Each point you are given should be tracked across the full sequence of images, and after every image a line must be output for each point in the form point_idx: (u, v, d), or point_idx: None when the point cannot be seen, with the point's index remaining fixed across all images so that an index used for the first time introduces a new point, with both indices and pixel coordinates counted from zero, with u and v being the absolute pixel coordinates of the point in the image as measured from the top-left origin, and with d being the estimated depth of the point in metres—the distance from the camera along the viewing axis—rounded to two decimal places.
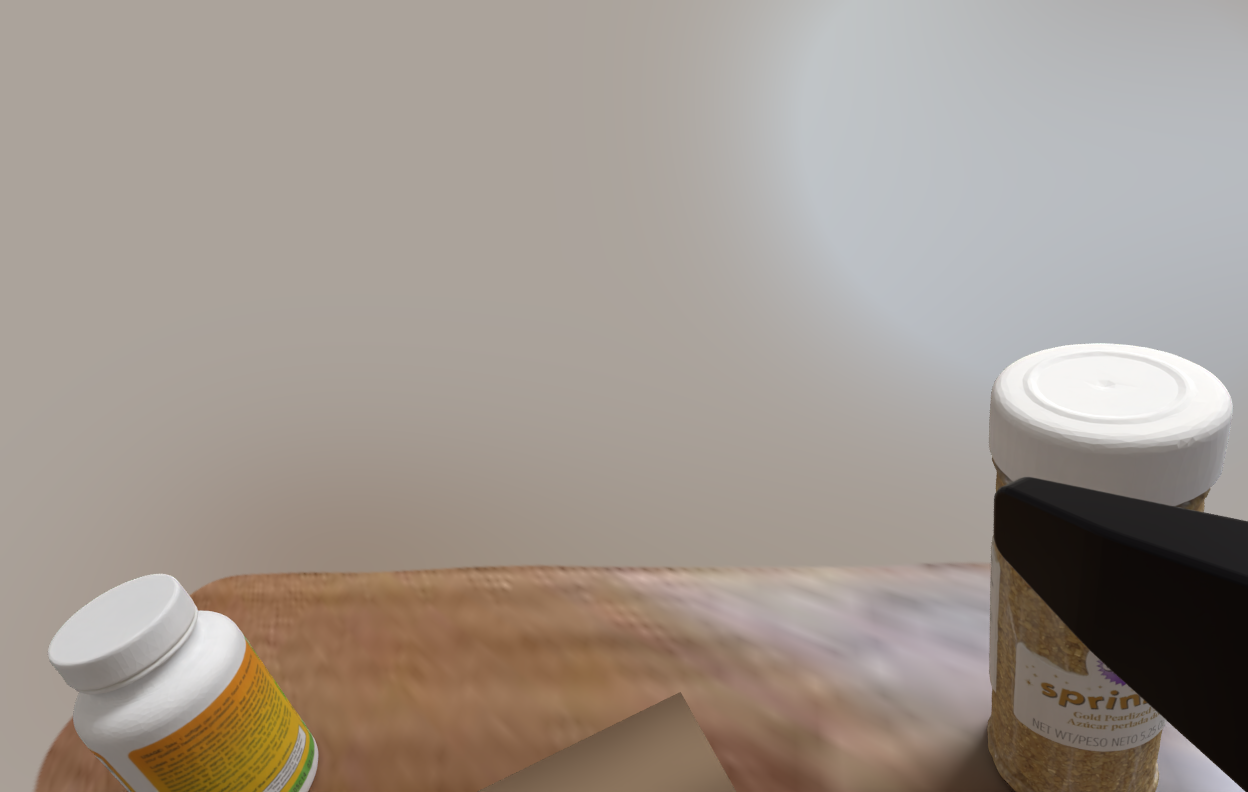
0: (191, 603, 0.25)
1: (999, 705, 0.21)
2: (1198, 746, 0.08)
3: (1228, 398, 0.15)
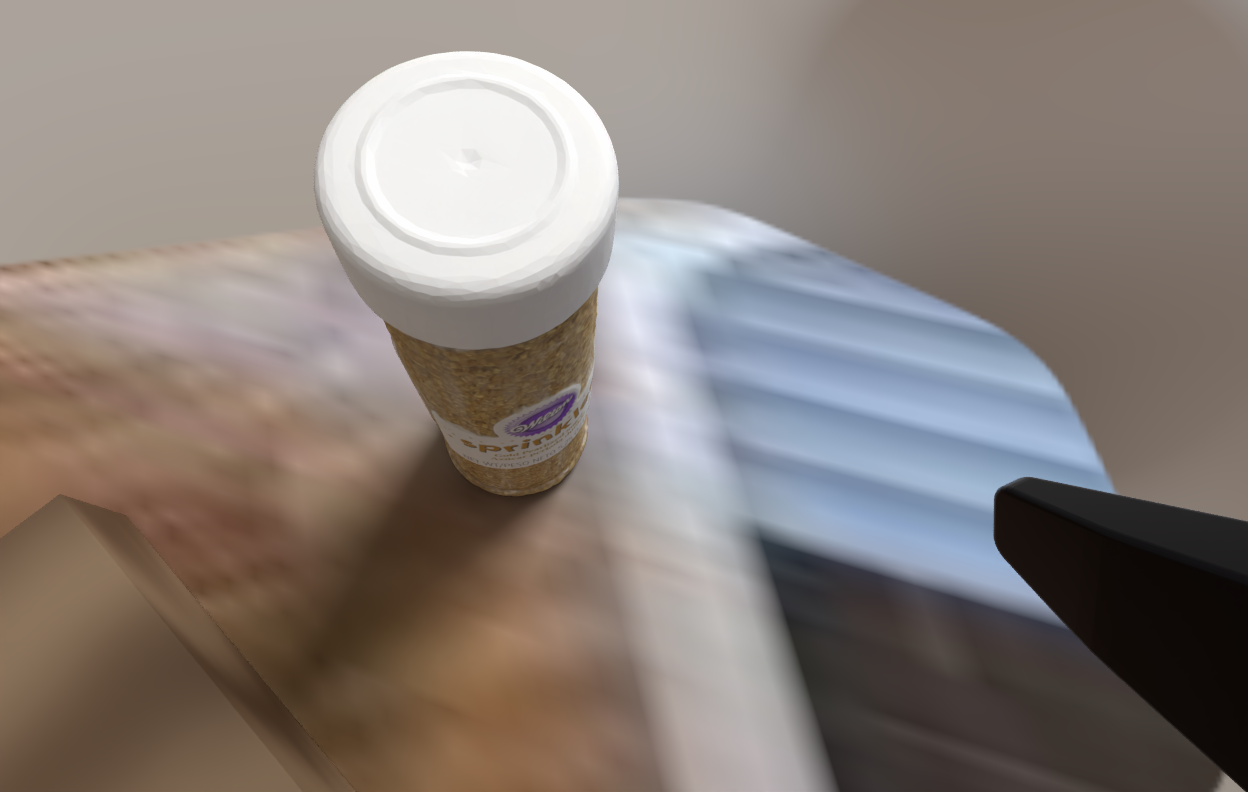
0: None
1: None
2: (1198, 746, 0.08)
3: (612, 188, 0.11)
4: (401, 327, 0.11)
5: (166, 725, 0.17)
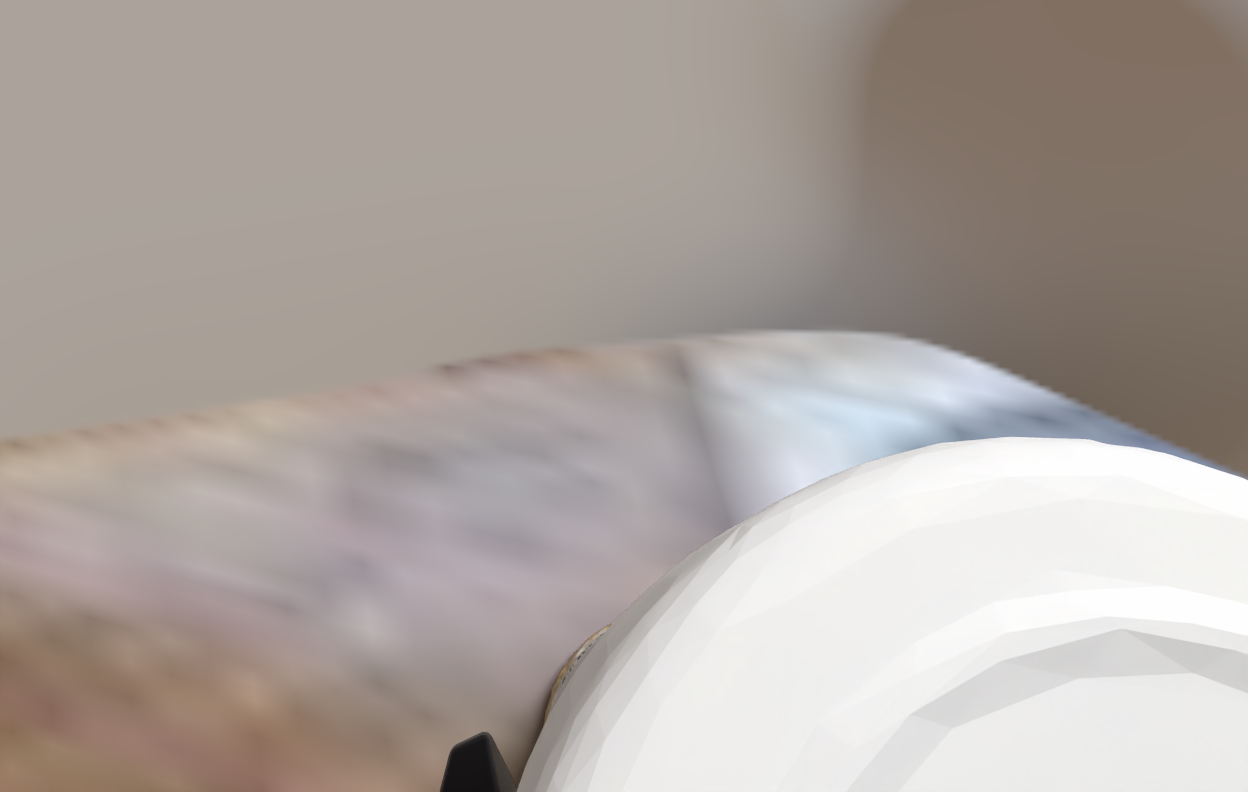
0: None
1: None
2: None
3: None
4: None
5: None
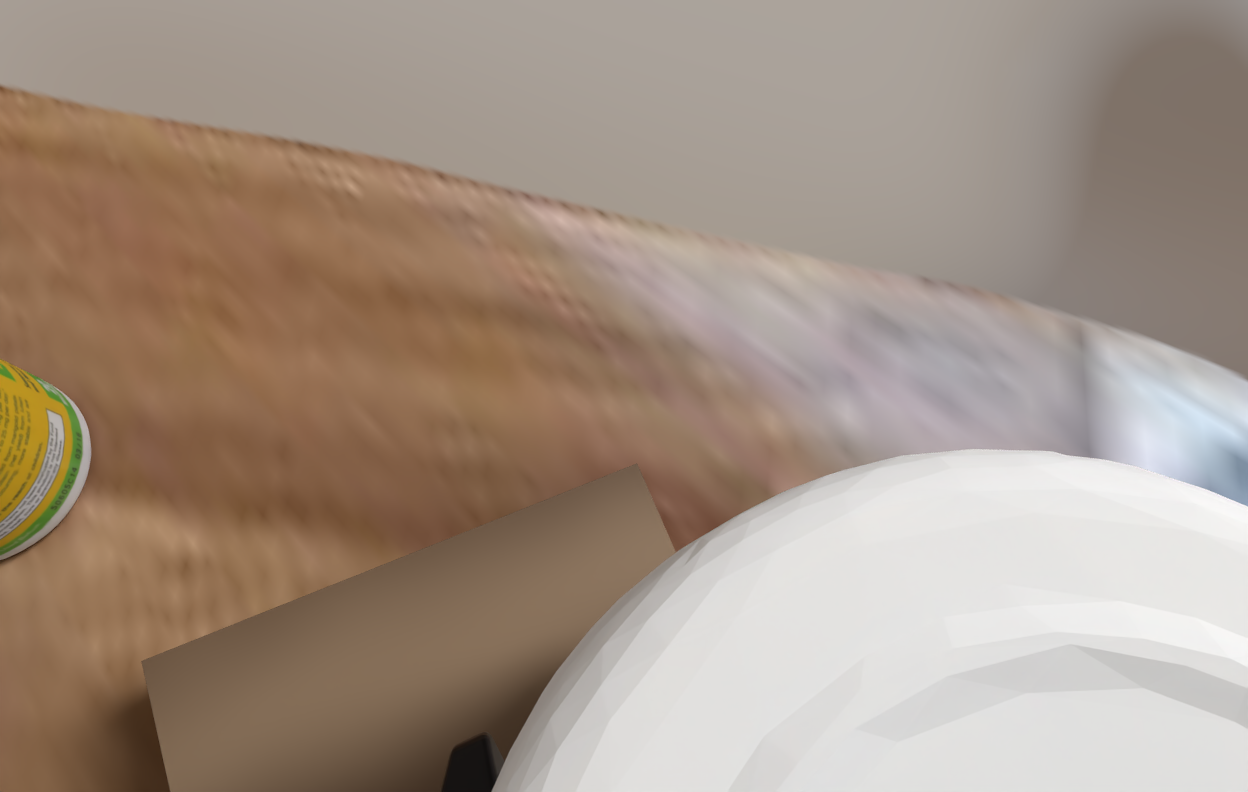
0: None
1: None
2: None
3: None
4: None
5: None
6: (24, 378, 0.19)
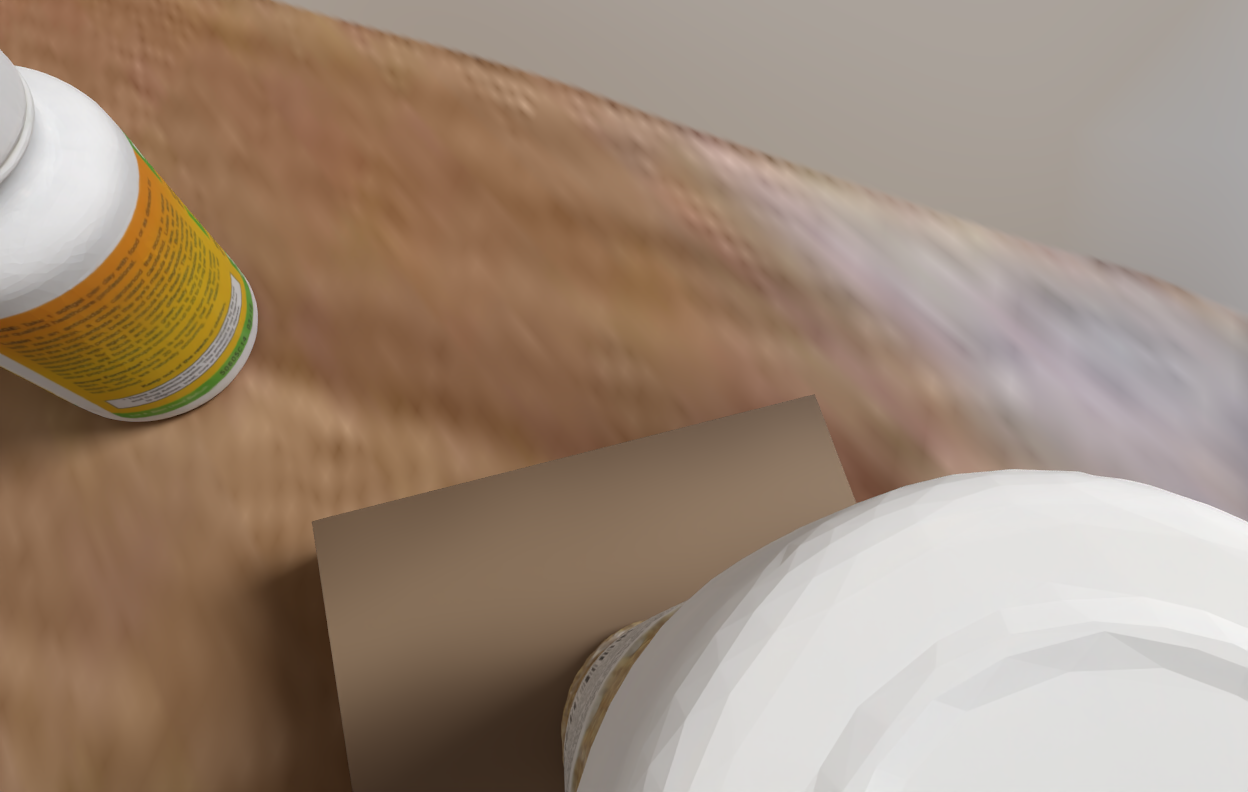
0: (14, 76, 0.12)
1: None
2: None
3: None
4: None
5: None
6: (213, 240, 0.19)
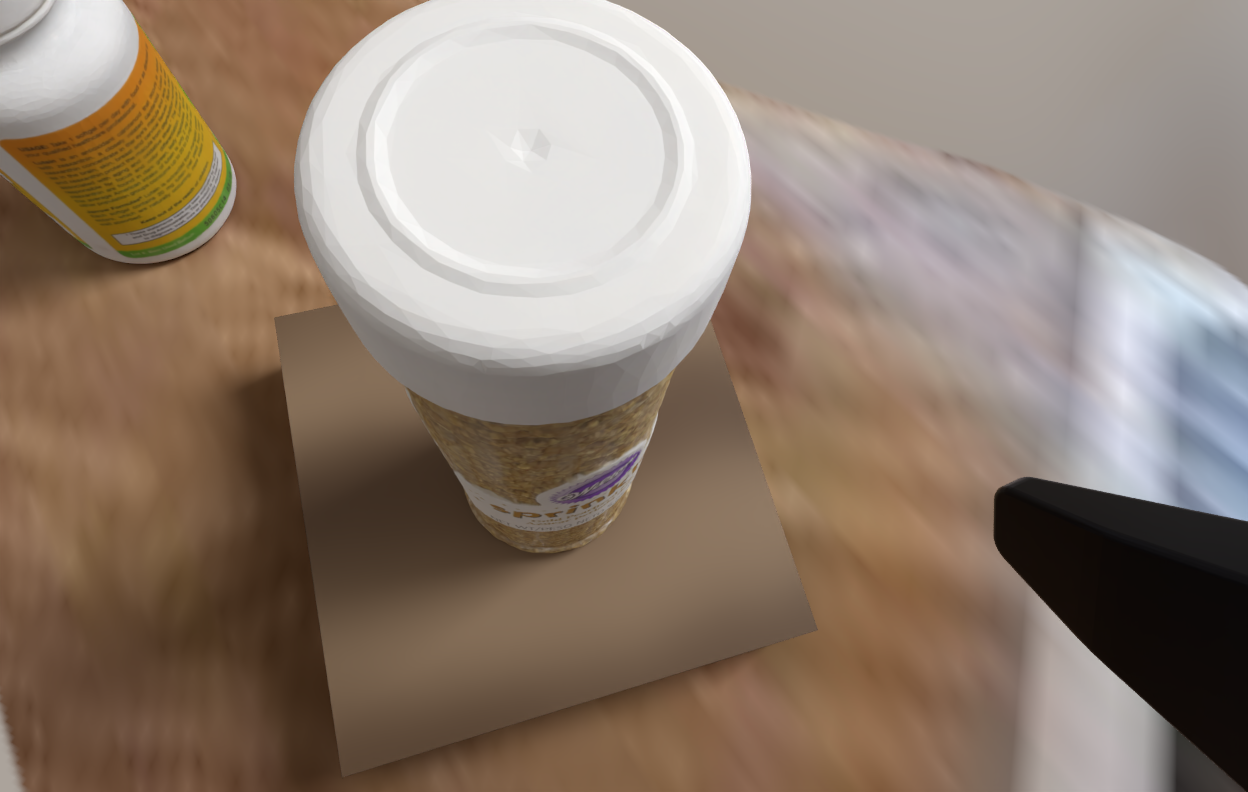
0: None
1: None
2: (1198, 746, 0.08)
3: (746, 189, 0.07)
4: (426, 394, 0.08)
5: (704, 440, 0.20)
6: None
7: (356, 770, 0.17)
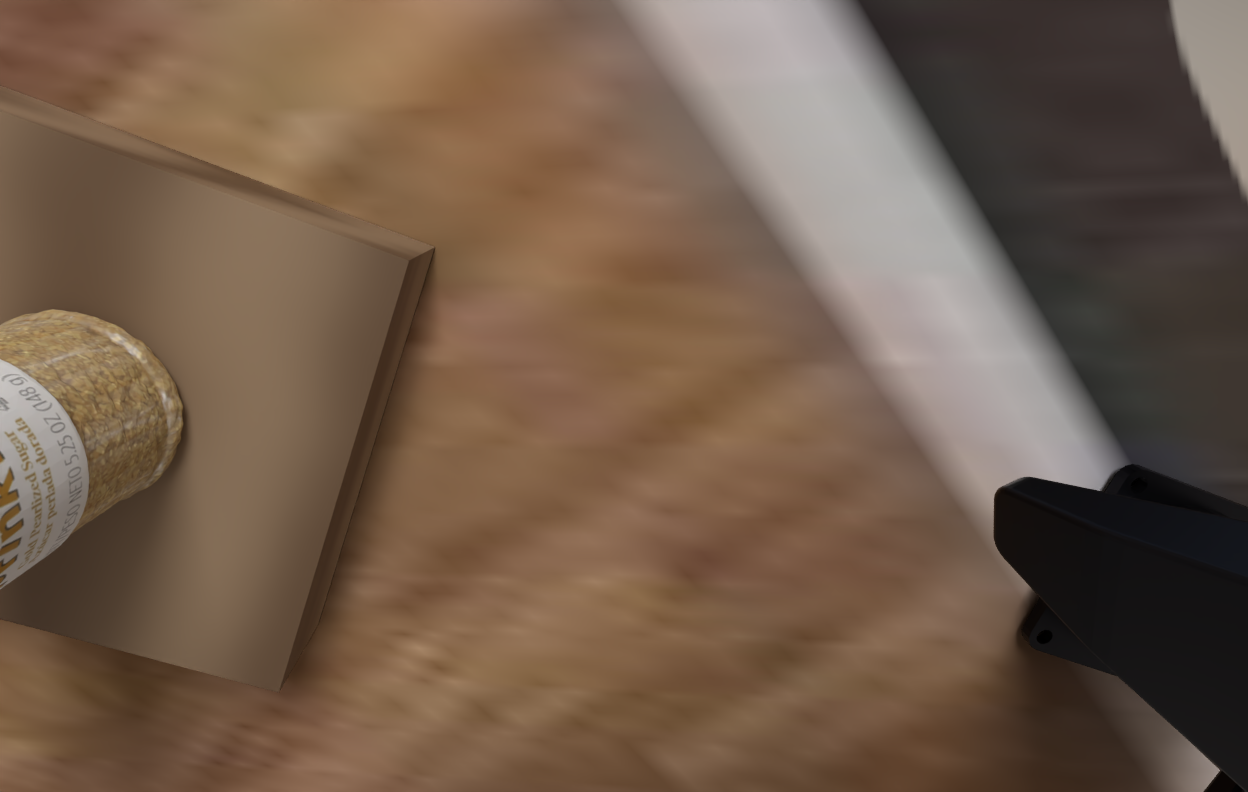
0: None
1: None
2: (1198, 746, 0.08)
3: None
4: None
5: (136, 224, 0.16)
6: None
7: (279, 682, 0.19)
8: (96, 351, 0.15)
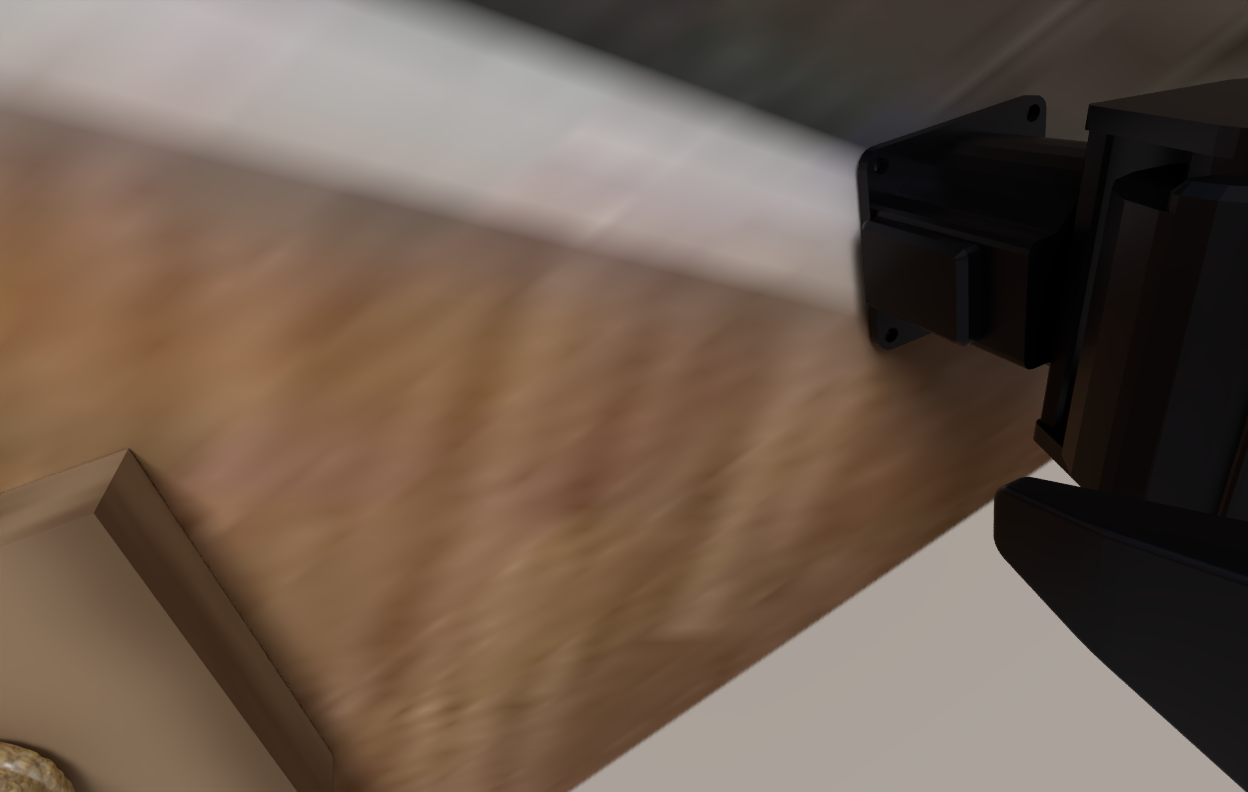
0: None
1: None
2: (1198, 746, 0.08)
3: None
4: None
5: None
6: None
7: None
8: None
